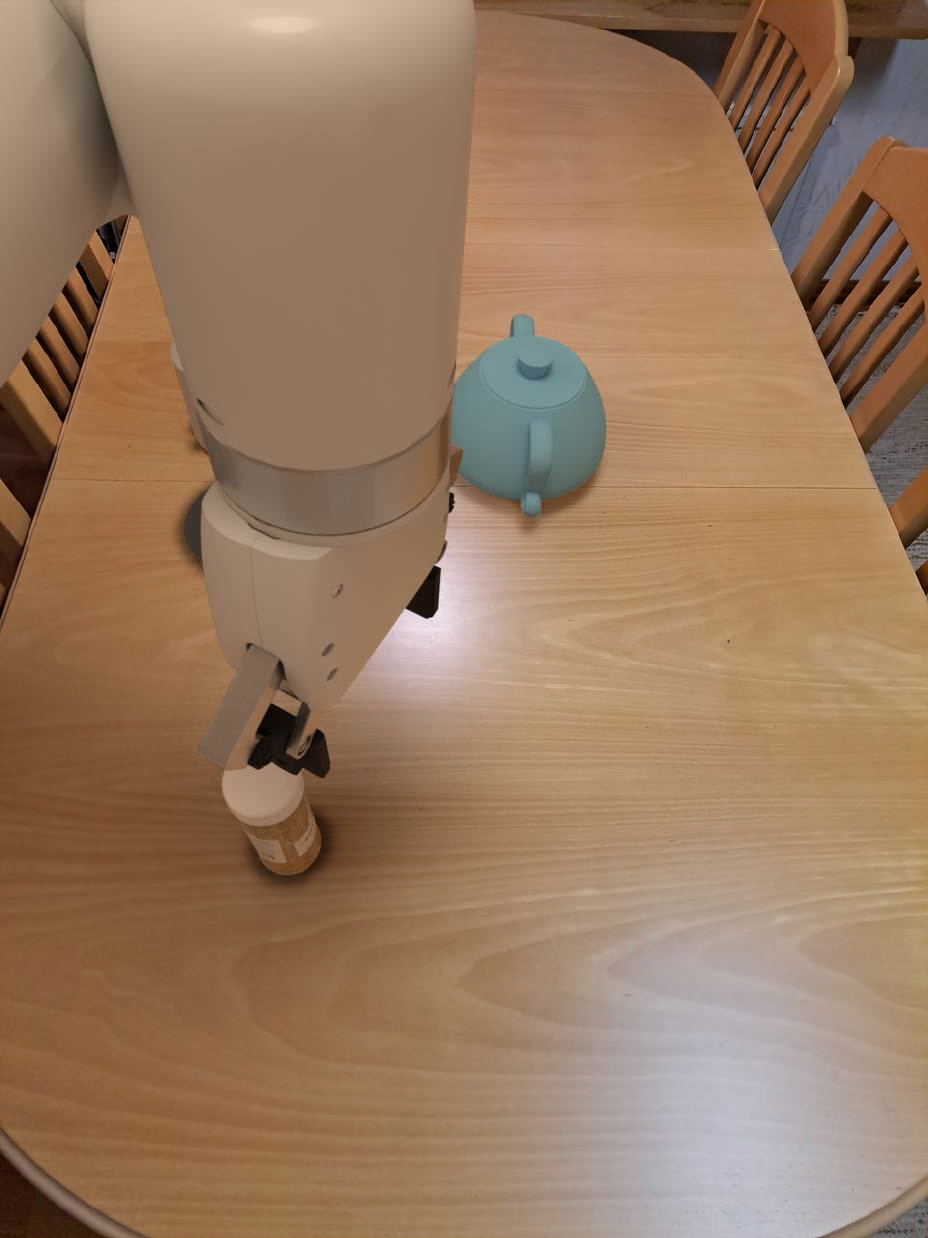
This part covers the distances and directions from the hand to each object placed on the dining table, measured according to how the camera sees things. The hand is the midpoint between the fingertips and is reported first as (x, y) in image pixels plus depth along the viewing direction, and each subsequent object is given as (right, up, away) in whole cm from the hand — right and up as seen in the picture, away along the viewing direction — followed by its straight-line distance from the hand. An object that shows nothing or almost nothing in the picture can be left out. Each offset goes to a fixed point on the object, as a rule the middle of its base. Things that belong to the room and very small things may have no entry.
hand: (356, 676), depth 40 cm
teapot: (+8, +18, +40) cm, 44 cm away
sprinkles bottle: (-7, -14, +19) cm, 25 cm away
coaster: (-14, +11, +34) cm, 38 cm away
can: (-16, +20, +39) cm, 47 cm away
